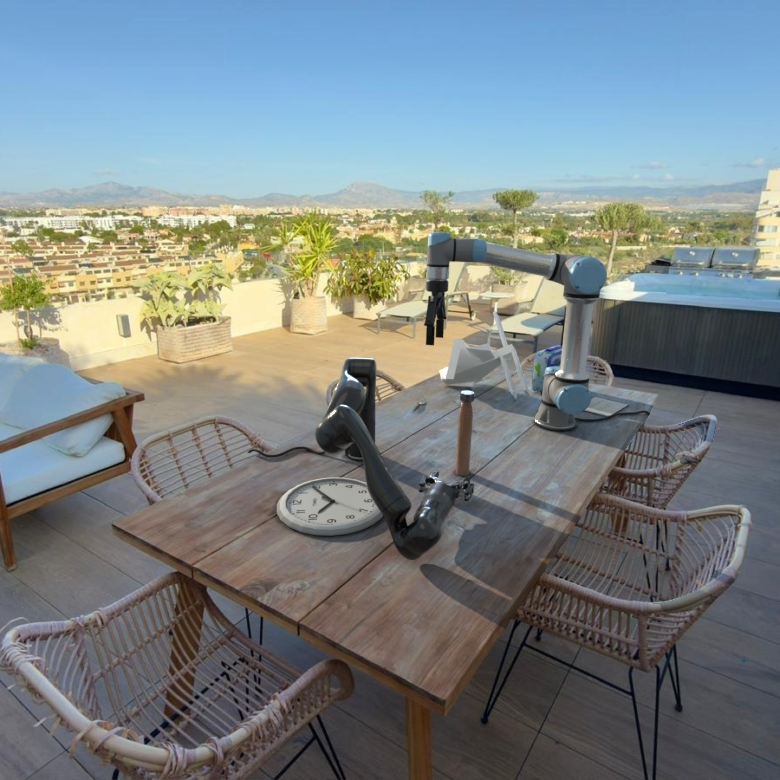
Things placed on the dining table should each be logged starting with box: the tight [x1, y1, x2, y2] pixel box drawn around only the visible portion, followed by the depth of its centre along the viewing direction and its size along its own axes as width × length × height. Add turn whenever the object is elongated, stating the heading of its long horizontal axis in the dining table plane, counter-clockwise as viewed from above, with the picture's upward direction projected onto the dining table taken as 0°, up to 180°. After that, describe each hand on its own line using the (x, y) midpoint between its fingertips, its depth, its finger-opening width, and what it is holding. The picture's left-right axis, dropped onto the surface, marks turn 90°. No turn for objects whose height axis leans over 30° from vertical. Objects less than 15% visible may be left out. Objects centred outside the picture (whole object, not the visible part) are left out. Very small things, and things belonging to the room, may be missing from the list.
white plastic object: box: [438, 310, 531, 400], centre depth 245 cm, size 37×45×31 cm
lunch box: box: [531, 345, 562, 393], centre depth 245 cm, size 26×11×21 cm, turn 134°
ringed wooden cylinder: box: [455, 401, 474, 477], centre depth 159 cm, size 4×4×26 cm
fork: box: [413, 396, 428, 412], centre depth 222 cm, size 3×16×2 cm, turn 160°
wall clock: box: [276, 476, 384, 537], centre depth 142 cm, size 30×2×30 cm
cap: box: [459, 390, 475, 403], centre depth 156 cm, size 4×4×2 cm
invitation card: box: [583, 396, 629, 417], centre depth 226 cm, size 21×1×15 cm
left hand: (452, 475), depth 147 cm, fingers open, 8 cm apart
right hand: (434, 341), depth 183 cm, fingers open, 13 cm apart
